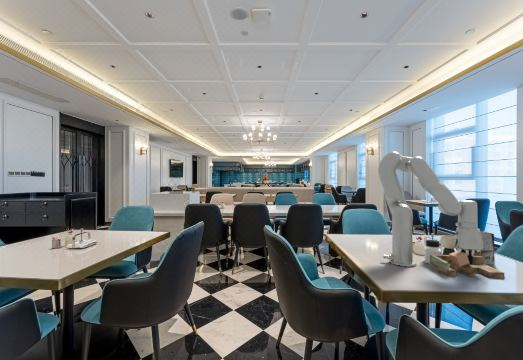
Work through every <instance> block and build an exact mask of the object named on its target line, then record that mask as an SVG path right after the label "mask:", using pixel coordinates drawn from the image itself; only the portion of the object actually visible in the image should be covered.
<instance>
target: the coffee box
mask: <svg viewBox="0 0 523 360" xmlns="http://www.w3.org/2000/svg"><path fill="white" fill-rule="evenodd" d="M480 232H481V236H482V243H483V248H482V249H481V251H480V252H476V253H475V254H474V256H482V257H483V264H485V265H491V266H492V265H493V266H495V265H496V263H495V261H496V260H495V256H496V255H495V234H494V233H491V232H488V231H483V230H480Z"/></svg>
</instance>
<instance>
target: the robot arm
mask: <svg viewBox="0 0 523 360" xmlns="http://www.w3.org/2000/svg"><path fill="white" fill-rule="evenodd" d="M377 170H378V171H377V172H378V176H379V179H380V183H381V186H382V188H383V195H384V199H385V202H386V204H387V207H388V210H389V212H390V215H391V237H392V238H391V240H392V241H391V246H392V247H391V249H392V251H391V253H390V254H383V255H382V258H383V259H387V260H389V263H390V262H391V263H390V264H392V265H394V264H395V266H398V265H400V267H405V266H406V267H407V268H410V267H416V266H417V261H415V260H414V257H413V256H414V254H413V221H414V215H413V214H414V212H413V211H412V208H410V206H409V205H408V203H407V200H406V198H405V192H404V190H403V188H402V185H401V183H400V180H399V177H398V175H397V171H401V172H405V173H411V174H412V176H413V177H414V178H415V180H417V182H418V183H419V185H420V186H421V188H422V189H424V191H425V192H427V193H428V194H429V195H431V196H432V198H434V200H435V201H436V203H438V204H437V209H438V210H439V211H440V212H441V213H442V214H444V215H448V216H451V217H452V216H453V217H455V216H457V222H455V226H456V230H455V235H454V236H455V246H456V248H455V250H456V251H461V252H463V253H466V254H467V257H468V260H469V262H470V263H469V264H472V262H473V256H474V254H475V253H476V252H480V251H481V249H482V248H483V243H482V236H481V232H480V231H481V229H480V228H478V227H479V226H478V224H479V223H478V219H479V218H478V217H479V216H478V203H477V201H476V200H463V199H462V200H458V199H457V197H456V196H455V195H454V194H453V192H452V191H451V190H450V189H449V188H448V187H447V186H446V185H445V183H444V182H443V181H442V180H441V179H440V178H439V176H438V175H437V174H436V172H435V171H434V170H433V169H432V168H431V166H430V165H429V164H428V162H427V161H426V159H424V158H423V157H421V156H413V157H411V156H404V155H401V153H400V152H397V151H390V152H387V153H386V154H385V155H384V156H383V157H382V159H381V160H380V162H379V164H378V169H377ZM457 227H458V228H457ZM460 248H461V249H460Z"/></svg>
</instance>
